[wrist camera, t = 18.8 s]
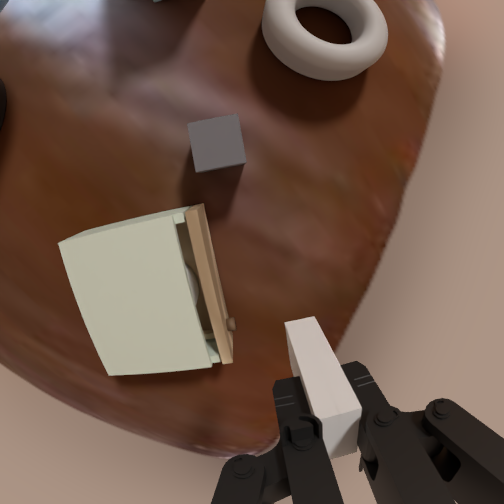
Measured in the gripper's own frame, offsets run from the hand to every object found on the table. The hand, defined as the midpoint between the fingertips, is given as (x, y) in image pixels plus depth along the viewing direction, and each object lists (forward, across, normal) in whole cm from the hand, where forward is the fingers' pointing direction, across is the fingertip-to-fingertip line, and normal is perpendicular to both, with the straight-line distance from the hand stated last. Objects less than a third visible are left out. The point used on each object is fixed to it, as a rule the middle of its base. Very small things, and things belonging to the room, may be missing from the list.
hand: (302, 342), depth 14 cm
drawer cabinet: (+22, -15, -3) cm, 27 cm away
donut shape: (+23, +12, +26) cm, 37 cm away
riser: (+22, -3, +12) cm, 26 cm away
